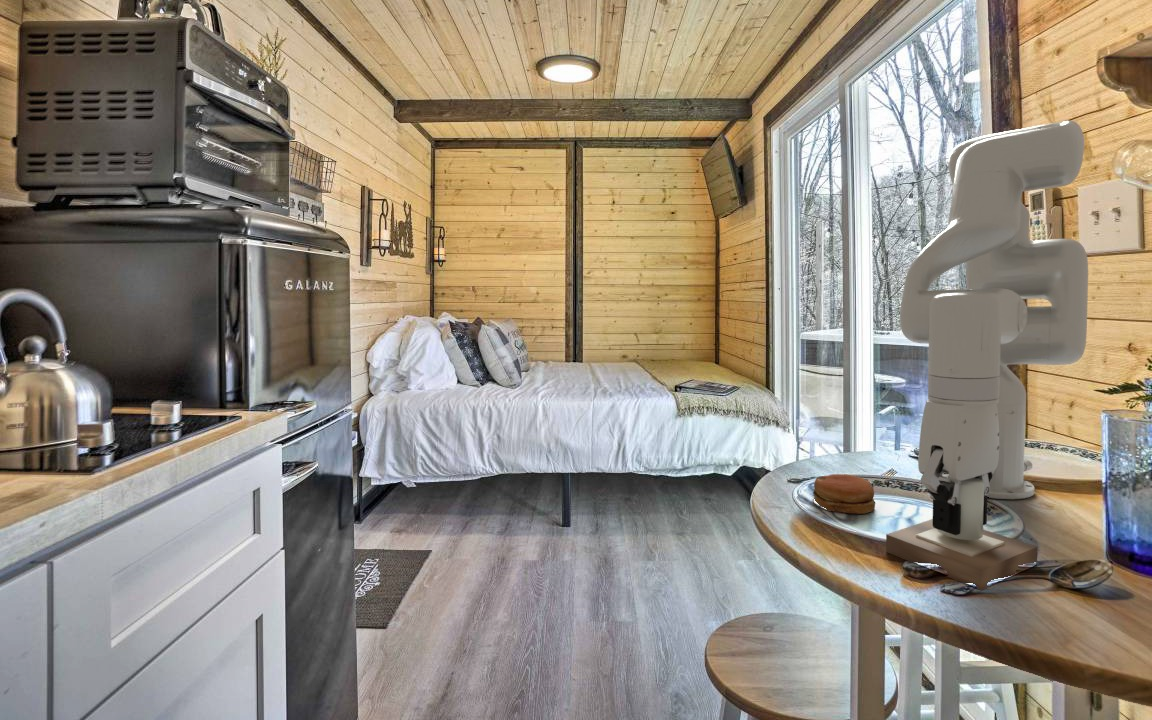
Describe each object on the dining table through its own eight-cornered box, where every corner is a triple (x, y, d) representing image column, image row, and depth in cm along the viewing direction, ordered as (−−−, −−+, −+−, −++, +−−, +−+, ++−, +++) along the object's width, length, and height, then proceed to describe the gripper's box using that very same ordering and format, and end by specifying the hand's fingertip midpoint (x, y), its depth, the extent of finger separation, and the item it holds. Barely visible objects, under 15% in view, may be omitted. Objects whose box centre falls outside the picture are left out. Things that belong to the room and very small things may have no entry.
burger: (884, 516, 90) (884, 487, 89) (823, 516, 91) (822, 488, 90) (861, 495, 99) (861, 469, 99) (806, 495, 101) (806, 470, 100)
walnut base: (940, 532, 82) (941, 514, 82) (1036, 565, 72) (1037, 544, 71) (886, 551, 77) (886, 532, 77) (981, 590, 66) (981, 567, 66)
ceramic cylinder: (951, 521, 77) (952, 471, 77) (991, 534, 73) (992, 481, 72) (928, 529, 75) (929, 478, 74) (967, 543, 71) (969, 488, 70)
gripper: (971, 379, 79) (968, 505, 81) (891, 392, 72) (889, 530, 74) (1033, 385, 72) (1028, 522, 74) (952, 401, 65) (949, 552, 67)
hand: (959, 525), depth 74 cm, fingers closed on ceramic cylinder, 4 cm apart
